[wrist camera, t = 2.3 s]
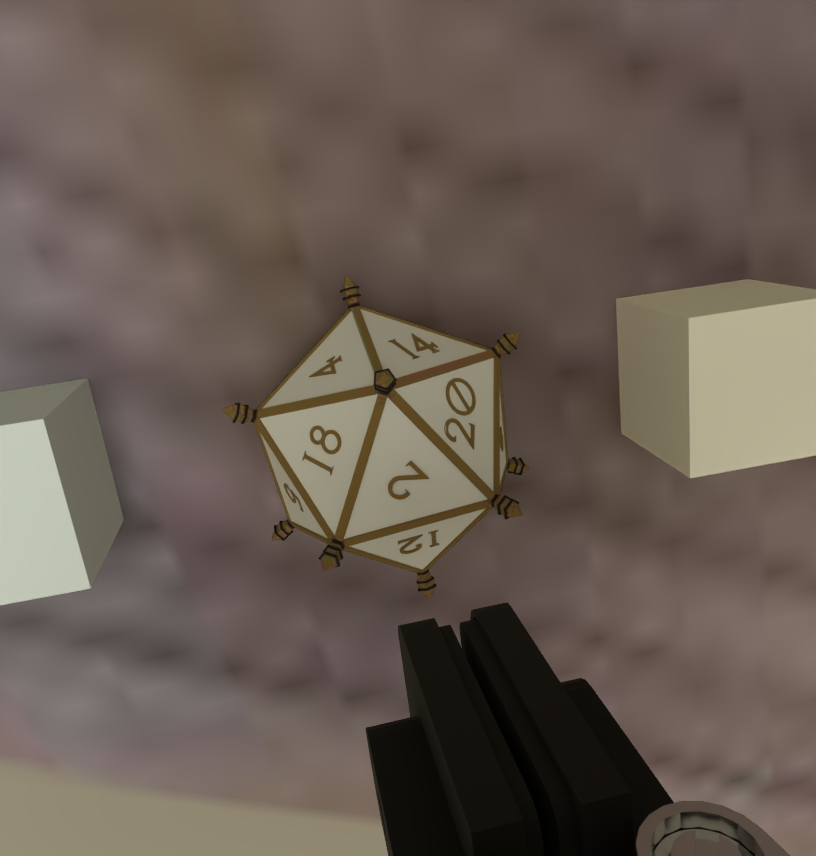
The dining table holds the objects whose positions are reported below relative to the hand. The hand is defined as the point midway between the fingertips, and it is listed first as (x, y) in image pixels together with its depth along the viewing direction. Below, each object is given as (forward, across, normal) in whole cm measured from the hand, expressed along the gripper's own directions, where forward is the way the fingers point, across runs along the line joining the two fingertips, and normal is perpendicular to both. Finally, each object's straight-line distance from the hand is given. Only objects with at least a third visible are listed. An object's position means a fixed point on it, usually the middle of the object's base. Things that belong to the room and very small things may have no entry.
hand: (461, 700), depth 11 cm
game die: (+16, -1, 0) cm, 16 cm away
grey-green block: (+16, +10, 0) cm, 19 cm away
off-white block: (+16, -12, 0) cm, 20 cm away
